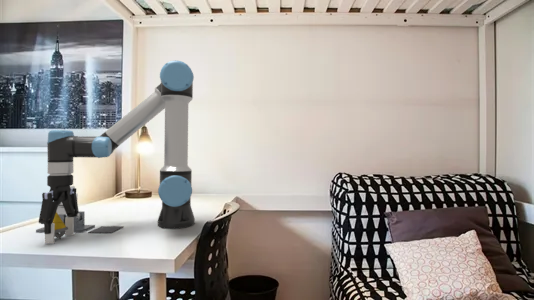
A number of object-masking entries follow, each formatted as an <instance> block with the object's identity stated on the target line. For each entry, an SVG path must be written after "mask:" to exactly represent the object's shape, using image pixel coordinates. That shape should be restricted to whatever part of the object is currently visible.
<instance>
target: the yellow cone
mask: <svg viewBox="0 0 534 300" xmlns="http://www.w3.org/2000/svg"><path fill="white" fill-rule="evenodd" d="M53 223H55V232H54V238H56V239H58V240H61V238H62V237H64V236H66V235H65V230H68V227H66V226H65V224H64V223H63V221H62V220H61V218H60V217H59V215H58V214H57V212H56V214H55V217H54V220H53ZM58 232H60V233H58Z"/></svg>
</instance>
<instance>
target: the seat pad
mask: <svg viewBox="0 0 534 300" xmlns="http://www.w3.org/2000/svg"><path fill="white" fill-rule="evenodd" d="M123 228H124V226H121V225H120V226H119V225H118V226H114V225H110V226H109V225H106V226H105V225H101V226H99V227H97V228H96V227H95V228H93V229H91V230H88V234H114V233H115V232H117V231H119V230H121V229H123Z"/></svg>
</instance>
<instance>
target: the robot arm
mask: <svg viewBox="0 0 534 300" xmlns="http://www.w3.org/2000/svg"><path fill="white" fill-rule="evenodd" d="M159 78H160V84H158V85H157V86H156V87H155V88H154V92H153V93H152V94H150V95H149V96H147V97H146V99H144V100H143V101H142V102H140V103H139V104H137V105H136V107H134V108H133V109H132V110H130V111H129V112H128V113H127V114H126V115H124V116H123V117H122V118H121V119H119V120H118V121H116V123H114V124H113V125H112V126H110V127H109V128H108V129H107V130H105V131H104V132H103V133H102V134H101V135H99V136H78V135H75V134H74V131H72V130H66V129H64V130H62V129H61V130H60V129H51V130H49V131H48V133H47V142H46V146H47V174H48V176H46V177H47V178H46V182H47V183H46V185H47V186H48V187H49V192H48V191H47V192H42V193H41V197H42V202H41V208H40V212H39V218H38V224H41V225H43V227H44V232H43V234H44V244H51V245H52V244H55V237H54V232H55V223H53V220H54V217H55V214H56V211H57V208H58V205H59V204H60V203H61V202H62V204H63V206H64V209H65V212H66V214H67V216H68V217H65V226H66V227H68V230H65V235H64V236H74V235H75V233H74V217H77V215H78V213H79V206H78V205H79V204H78V196H77V197H76V193H77V188H76V187H75V188H70V186H74V175H73V173H74V158H98V159H100V158H109V157H110V156H112V154H113V153H114V151H115V150H117V149H118V148H119V146H120V145H122V144H123V143H124V142H125V141H127V140H128V139H129V138H130V137H132V136H133V135H134V134H135V133H136V132H138V131H139V130H141V129H142V127H144V126H145V125H146V124H147V123H149V122H150V121H151V120H153V118H155V117H156V116H157V115H158V114H159V113H161V112H162V111H164V146H163V147H164V151H163V152H164V154H163V155H164V156H163V157H164V158H163V159H164V160H163V163H164V164H163V166H162V167H161V168H160V169H159V186H158V190H157V193H158V197H159V198H160V200H161V208H160V213H159V215H158V218H157V227H159V228H161V229H168V230H169V229H172V230H173V229H183V228H187V227H188V228H189V227H192V226H194V225H196V223H195V222H196V219H195V215H194V212H193V208H192V205H191V200H192V194H193V187H192V168H191V167H190V166H189V165H188V163H189V160H188V159H189V156H188V155H189V153H188V152H189V105H190V102H191V101H193V98H194V97H193V94H194V92H193V89H194V88H193V87H194V85H193V84H194V78H195V77H194V72H193V70H192V68H191V67H190V66H189V65H188V64H187V63H185V62H184V61H181V60H170V61H167V62H166V63H164V65H162V67H161V69H160V72H159ZM74 210H75V211H74ZM43 219H44V220H43Z"/></svg>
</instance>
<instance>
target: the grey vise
mask: <svg viewBox="0 0 534 300" xmlns="http://www.w3.org/2000/svg"><path fill="white" fill-rule="evenodd" d="M79 213H80V214H81V219H80V220H79V221H77V217H74V234H75V233H76V234H77V233H78V234H79V233H80V234H83V233H85V232H87V231H88V232H89V231H91V230H94V229H96V224H85V220H86V219H85V211H82V210H80V211H79ZM58 215H59V217H60V218H61V220H62V221H63V223H64V224H65V217H66V214H58ZM35 233H44V226H43V227H41V228H40V227H39V228H37V229H35ZM58 233H60V232H58Z"/></svg>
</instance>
